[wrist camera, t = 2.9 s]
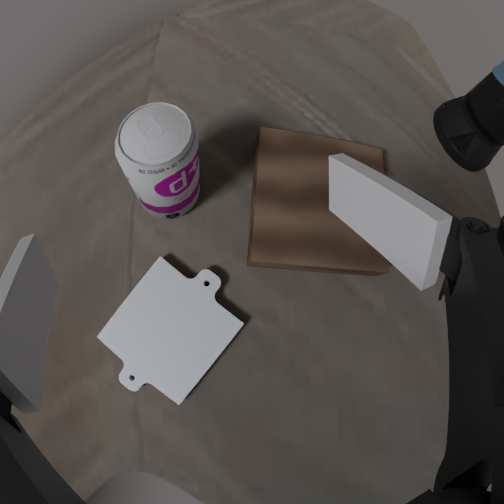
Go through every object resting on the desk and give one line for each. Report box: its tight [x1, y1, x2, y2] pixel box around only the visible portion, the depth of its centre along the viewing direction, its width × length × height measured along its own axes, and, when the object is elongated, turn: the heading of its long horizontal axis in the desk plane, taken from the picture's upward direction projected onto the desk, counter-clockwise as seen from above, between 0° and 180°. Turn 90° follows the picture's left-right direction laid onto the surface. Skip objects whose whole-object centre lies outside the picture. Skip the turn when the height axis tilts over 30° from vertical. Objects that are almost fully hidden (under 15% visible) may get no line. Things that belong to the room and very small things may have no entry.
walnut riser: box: [247, 127, 389, 276], centre depth 42 cm, size 18×18×4 cm
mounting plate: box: [97, 256, 244, 405], centre depth 38 cm, size 18×13×2 cm
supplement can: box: [115, 102, 200, 219], centre depth 34 cm, size 8×8×15 cm
